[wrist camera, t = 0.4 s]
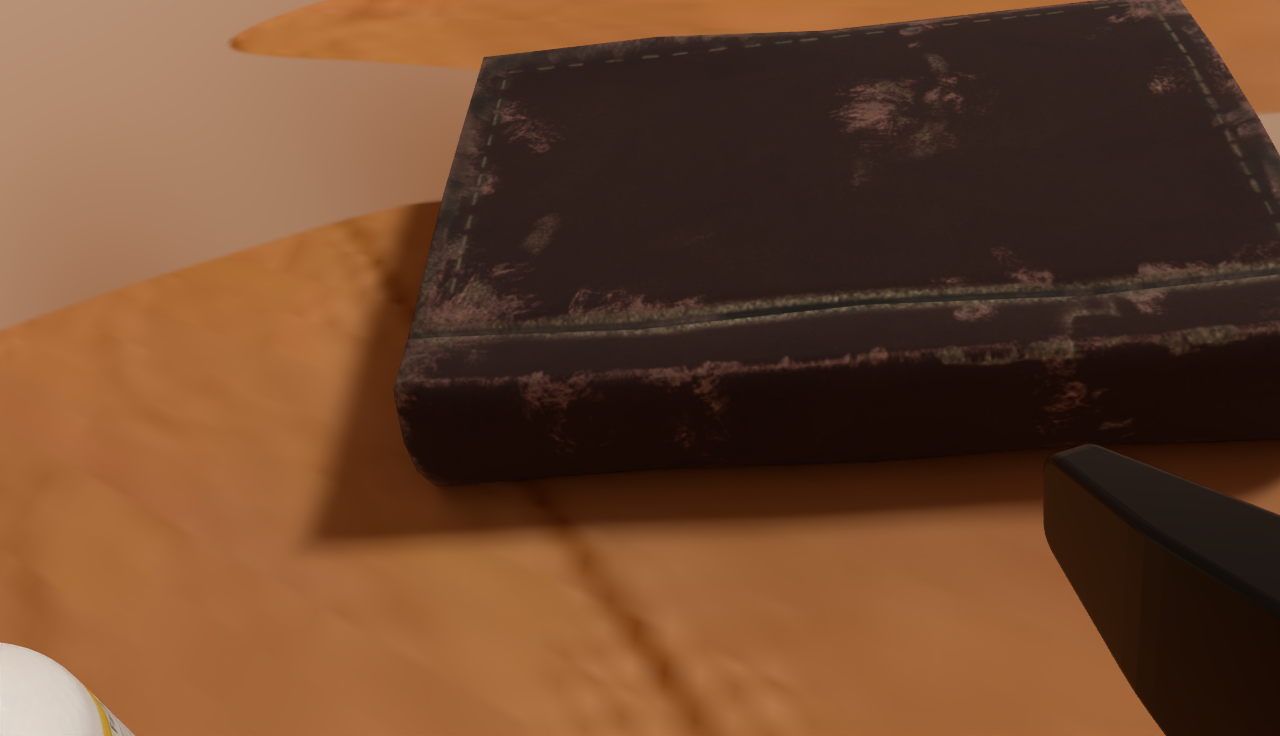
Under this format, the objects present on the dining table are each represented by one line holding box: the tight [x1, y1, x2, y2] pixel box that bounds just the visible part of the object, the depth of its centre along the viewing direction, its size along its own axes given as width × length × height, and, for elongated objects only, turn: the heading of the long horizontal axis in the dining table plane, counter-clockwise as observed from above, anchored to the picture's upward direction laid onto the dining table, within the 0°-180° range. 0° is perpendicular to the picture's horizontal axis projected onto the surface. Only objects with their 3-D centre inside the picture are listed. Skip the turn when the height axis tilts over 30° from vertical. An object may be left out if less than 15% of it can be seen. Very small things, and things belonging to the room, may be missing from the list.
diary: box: [394, 0, 1280, 485], centre depth 36 cm, size 19×25×5 cm
